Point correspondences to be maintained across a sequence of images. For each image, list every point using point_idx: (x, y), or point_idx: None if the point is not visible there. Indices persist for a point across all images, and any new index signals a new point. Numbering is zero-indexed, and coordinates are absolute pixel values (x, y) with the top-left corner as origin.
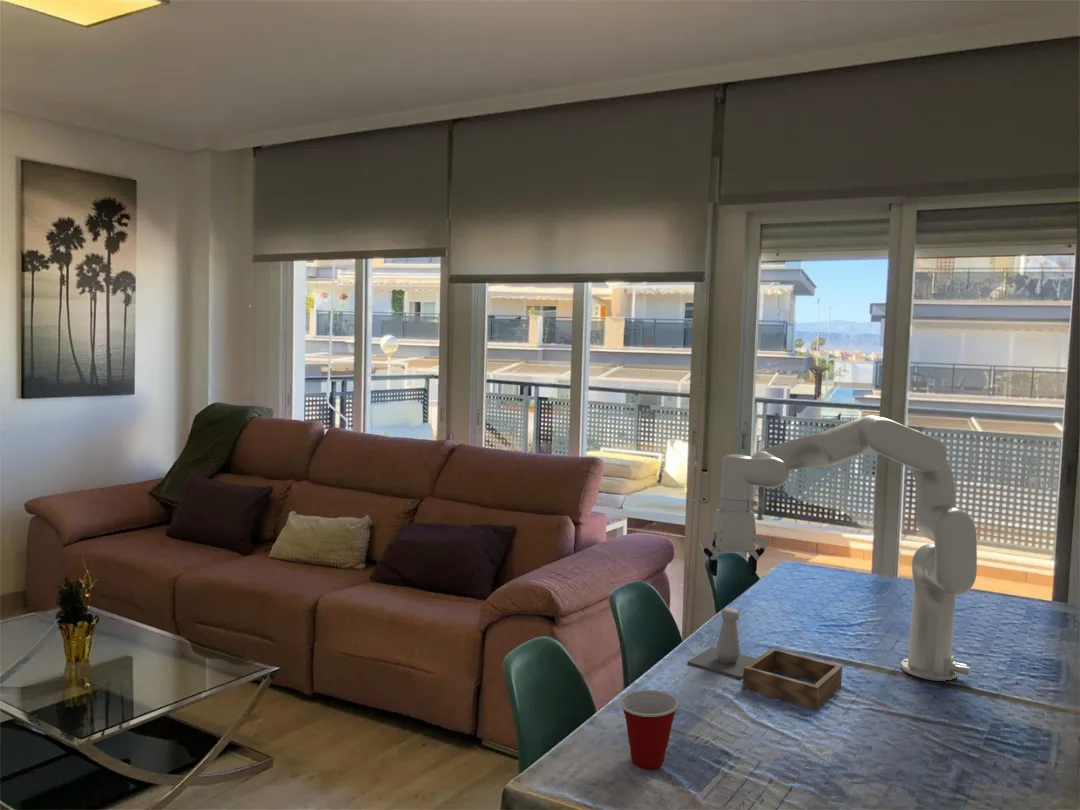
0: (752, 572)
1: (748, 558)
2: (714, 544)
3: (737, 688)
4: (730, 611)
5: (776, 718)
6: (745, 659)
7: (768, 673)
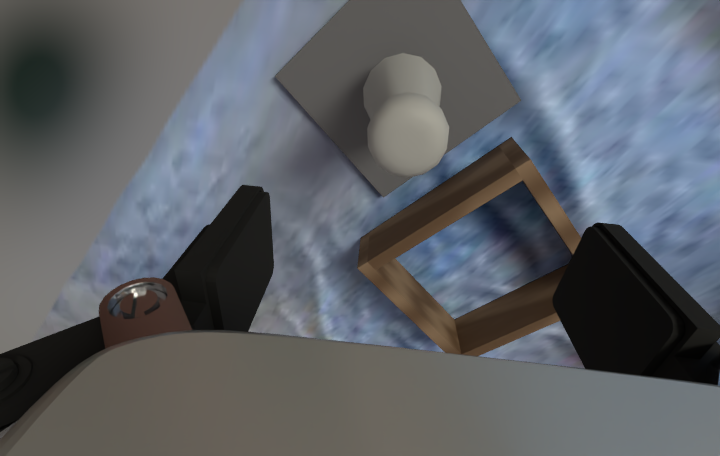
0: (564, 318)
1: (665, 327)
2: (137, 363)
3: (350, 234)
4: (395, 166)
5: (362, 338)
6: (465, 84)
7: (398, 302)
